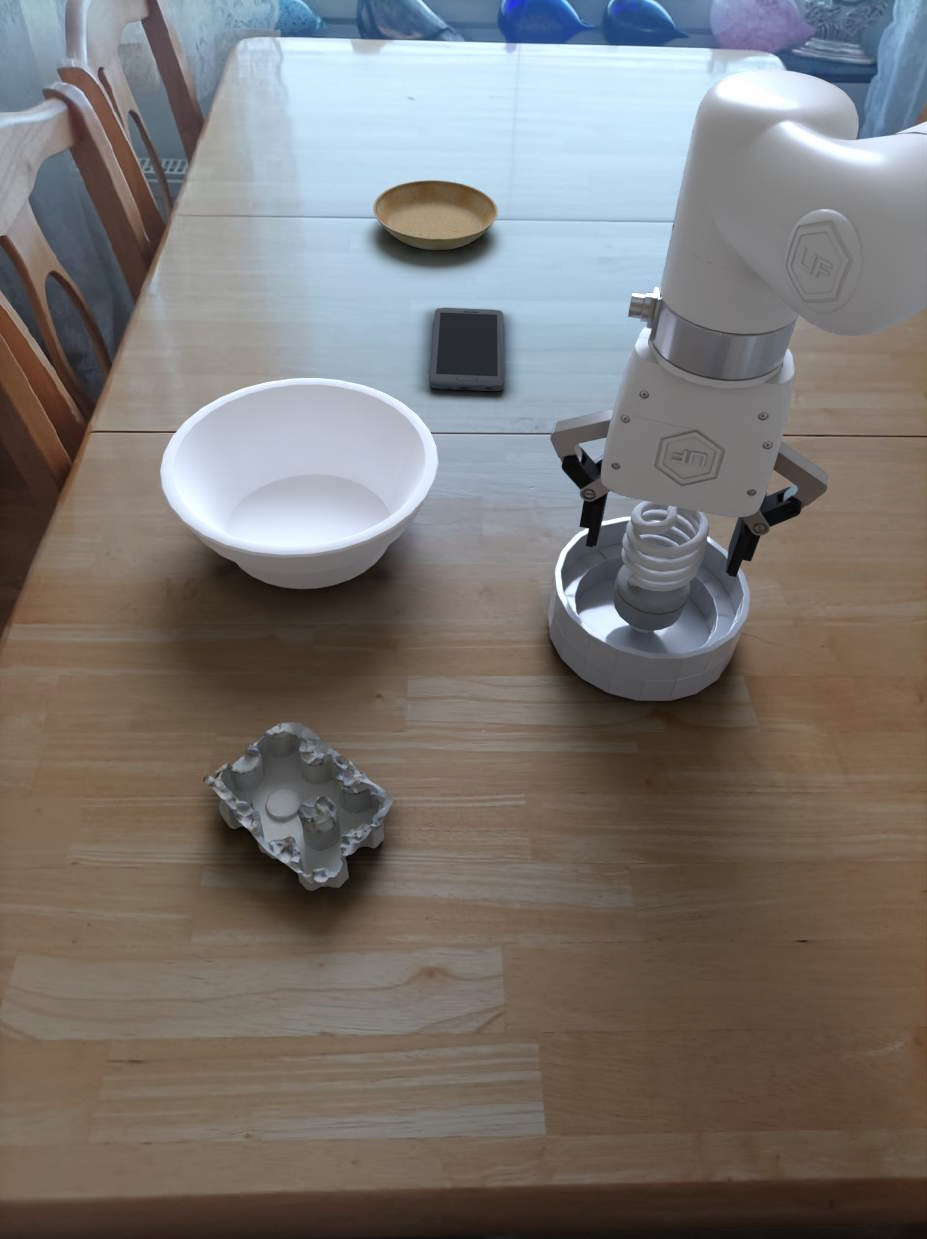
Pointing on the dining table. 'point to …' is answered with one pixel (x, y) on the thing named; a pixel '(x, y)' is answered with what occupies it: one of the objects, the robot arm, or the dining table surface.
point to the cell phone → (468, 349)
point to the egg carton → (302, 803)
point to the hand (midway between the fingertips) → (662, 547)
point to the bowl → (300, 478)
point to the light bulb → (658, 565)
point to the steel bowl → (631, 657)
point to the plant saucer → (435, 213)
